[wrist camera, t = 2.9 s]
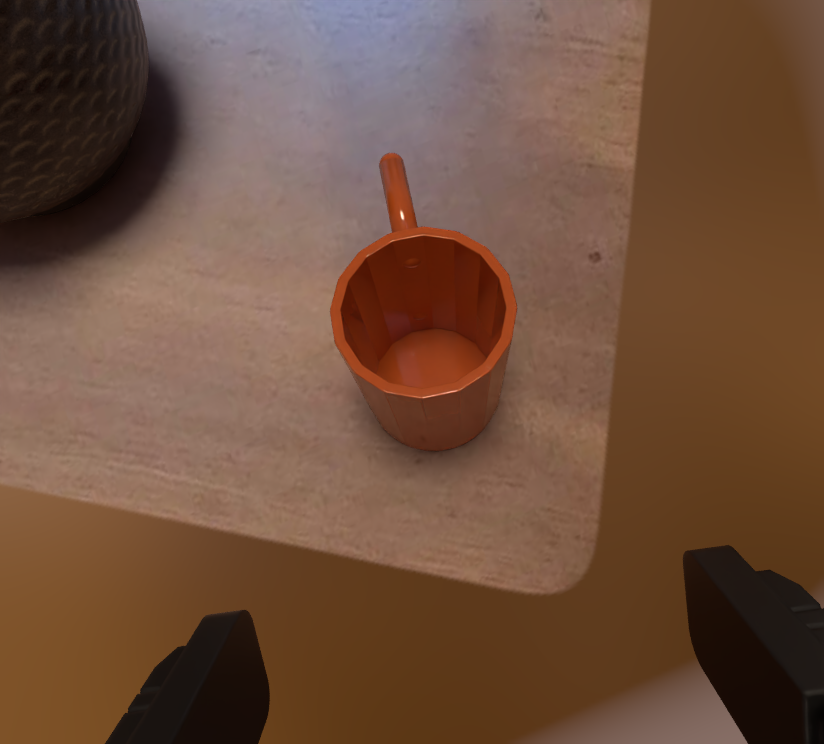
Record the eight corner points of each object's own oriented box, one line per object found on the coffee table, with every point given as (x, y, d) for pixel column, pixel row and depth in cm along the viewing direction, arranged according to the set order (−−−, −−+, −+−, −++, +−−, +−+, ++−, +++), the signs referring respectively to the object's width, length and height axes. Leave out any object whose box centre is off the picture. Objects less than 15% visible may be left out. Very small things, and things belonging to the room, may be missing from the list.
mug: (513, 436, 31) (535, 376, 22) (380, 463, 31) (345, 414, 22) (464, 234, 35) (465, 107, 25) (346, 258, 35) (303, 141, 26)
